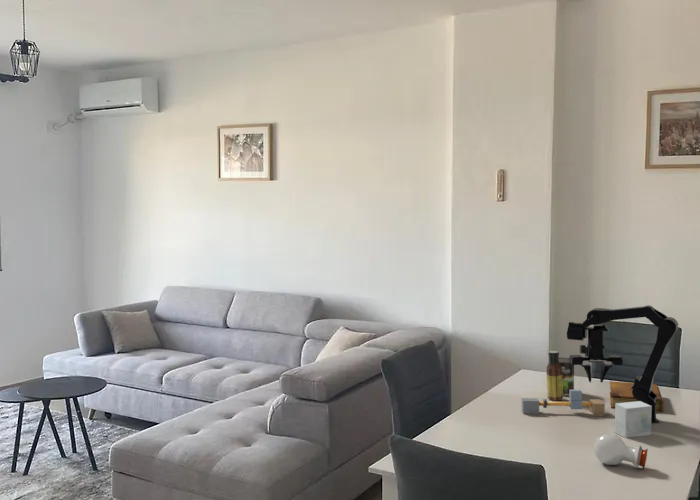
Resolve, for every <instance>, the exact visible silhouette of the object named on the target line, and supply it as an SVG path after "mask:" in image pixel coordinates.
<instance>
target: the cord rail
mask: <svg viewBox="0 0 700 500" xmlns="http://www.w3.org/2000/svg"><path fill="white" fill-rule="evenodd" d="M605 405H606V404H605V403H604V401H602V399H591V398H590V399H589V401H582V407H589V412H590V413H591V414H592V416H595V417H596V416H597V417H599V416H605V410H606V409H605V407H606V406H605ZM569 406H571V402H569V401H547V399H545V398H544V399H542V401H540V400H539V398H535V397H529V398H528V397H524V398H523V397H522V398H521V412H522V414H523V415H540V407H543V409H547V407H569Z"/></svg>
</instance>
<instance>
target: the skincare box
mask: <svg viewBox="0 0 700 500" xmlns="http://www.w3.org/2000/svg"><path fill="white" fill-rule="evenodd" d="M651 415H652V406H650V405H648V404H646V403H643V402H641V401H636V402H626V403H616V404H615V408H614V431H613V432H614V434H616V435H618V436H622V437H623V438H626V439H627V438H636V437H645V436H651V435H652V422H651Z"/></svg>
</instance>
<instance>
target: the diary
mask: <svg viewBox="0 0 700 500" xmlns="http://www.w3.org/2000/svg"><path fill="white" fill-rule="evenodd" d="M633 385H634V382H626V381H625V382H624V381H610V380H609V391H610V392H609V400H610V408H611V409H615V404H616V403H626V402H636V401H637V399H635V398H634V396H633V394H632V390H633V389H631V387H632V386H633ZM652 391H653V392H654V393H655V394H656V395H657V396H658V398H657V400H656V402H655V403H656V413H663V412H664V399H663V397H662V396H663V395H662V393H661V390H660V388H659V386H658V385H657V384H656V383H655V384H654V383H653V386H652Z"/></svg>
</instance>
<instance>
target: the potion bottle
mask: <svg viewBox="0 0 700 500" xmlns="http://www.w3.org/2000/svg"><path fill="white" fill-rule="evenodd" d="M648 450H649V449H648V448H645V449H643V447H642V445H641V444H640V445H638V446H636V447H633V446H632V447H631V446H629V445H626V443H625V442H624V441H623V439H622V438H621V437H620V435H618V434H616V433H604V434H601V435H600V436H598V437H597V438H596V439H595V441H594V444H593V453H594V455H595V457H596V459H598V461H599V462H601V463H603V464H604V465H605V466H617V465H618V464H620V463H621V462H623V461H625V462H629V463H631V464H633V466H634V468H636V469H638V468H639V467H641V468H642V469H643V470H645V467H646V463H647V459H648Z"/></svg>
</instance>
